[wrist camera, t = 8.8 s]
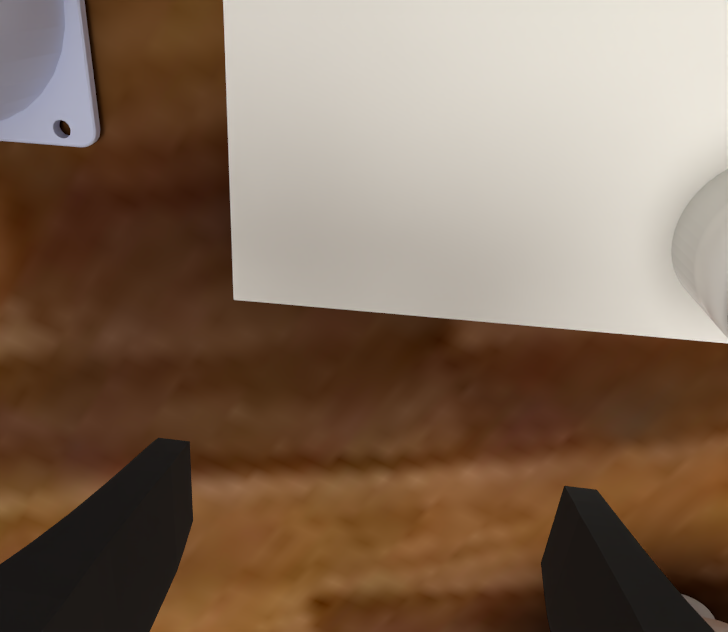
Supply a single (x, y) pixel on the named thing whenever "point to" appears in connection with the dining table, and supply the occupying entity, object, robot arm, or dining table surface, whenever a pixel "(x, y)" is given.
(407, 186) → the shelf board
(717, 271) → the spice jar
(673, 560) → the dining table surface
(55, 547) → the robot arm
